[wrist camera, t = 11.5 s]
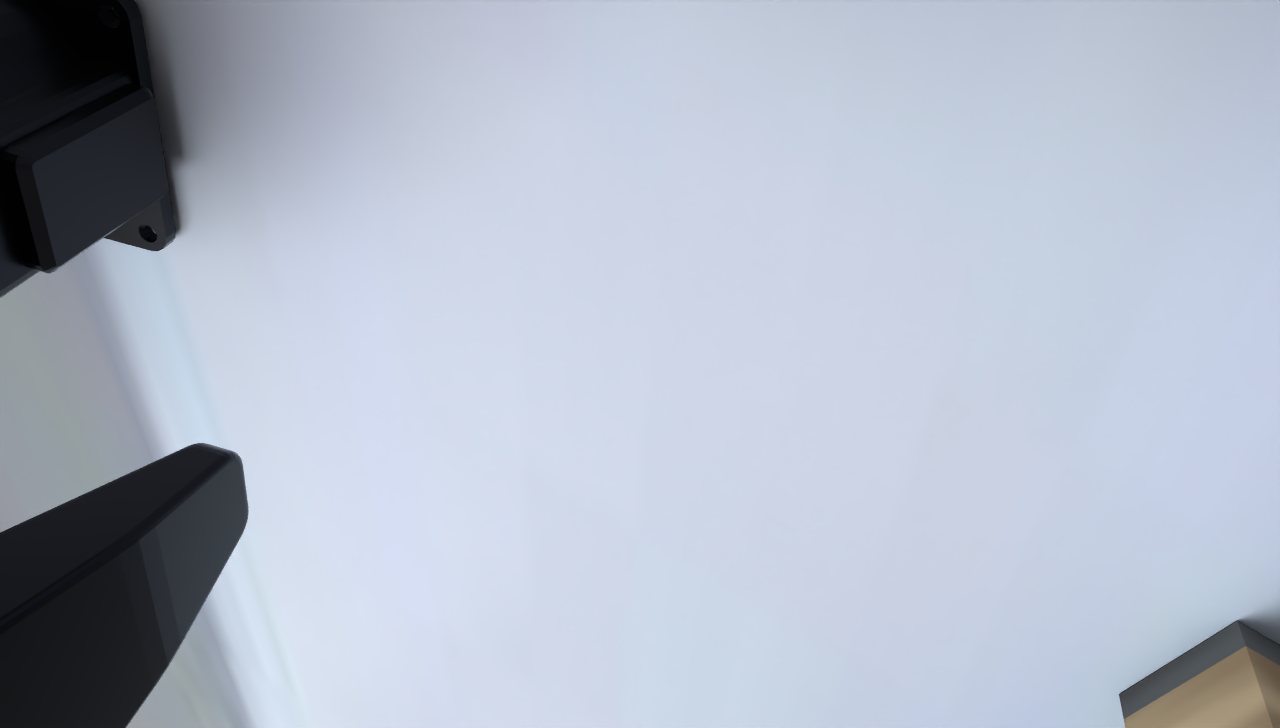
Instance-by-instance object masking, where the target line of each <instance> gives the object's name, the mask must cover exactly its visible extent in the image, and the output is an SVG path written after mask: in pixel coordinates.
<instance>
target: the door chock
mask: <svg viewBox="0 0 1280 728" xmlns="http://www.w3.org/2000/svg"><path fill="white" fill-rule="evenodd" d="M1119 697H1120V702H1121V707H1122V712H1123V717H1124V722H1125V727H1126V728H1280V645H1279V644H1277V643H1275V642H1274V641H1272V640H1270V639H1268V638H1267V637H1265V636H1263V635H1261V634H1260V633H1258V632H1256V631H1254V630H1253V629H1251V628H1249V627H1247V626H1246V625H1244V624H1242V623H1240V622H1239V621H1236V622H1234V623H1233V624H1231V625H1230V626H1228V627H1226V628H1225V629H1223V630H1222V631H1220V632H1218V633H1217V634H1215V635H1213V636H1212V637H1210V638H1209V639H1207V640H1205V641H1204V642H1202V643H1201V644H1199V645H1197V646H1196V647H1194V648H1193V649H1191V650H1189V651H1188V652H1186V653H1185V654H1183V655H1181V656H1180V657H1178V658H1177V659H1175V660H1173V661H1172V662H1170V663H1169V664H1167V665H1165V666H1164V667H1162V668H1161V669H1159V670H1157V671H1156V672H1154V673H1153V674H1151V675H1149V676H1148V677H1146V678H1145V679H1143V680H1141V681H1140V682H1138V683H1136V684H1135V685H1133V686H1132V687H1130V688H1128V689H1127V690H1125V691H1124V692H1122V693H1120V694H1119Z"/></svg>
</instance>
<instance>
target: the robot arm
mask: <svg viewBox="0 0 1280 728" xmlns="http://www.w3.org/2000/svg"><path fill="white" fill-rule="evenodd" d="M111 7H113V9H114V10H115V11H116V12H117V13H118V16H119V18H120V21H118V20H117V19H116V18H115V17H114V16H113V14H112V12H111V9H110V8H111ZM150 227H151V228H152V229H153V230H154V231H155V232H156V233H154V232H153V231H152V230H151V229H150ZM175 233H176V231H175V225H174V218H173V212H172V206H171V199H170V193H169V186H168V180H167V174H166V167H165V161H164V155H163V148H162V142H161V136H160V129H159V123H158V117H157V111H156V104H155V99H154V92H153V86H152V80H151V73H150V67H149V61H148V55H147V48H146V42H145V36H144V29H143V23H142V17H141V14H140V11H139V7H138V6H137V4H136V3H135V1H134V0H0V298H1V297H2V296H4V295H5V294H7V293H8V292H9V291H11V290H12V289H14V288H15V287H17V286H18V285H20V284H21V283H23V282H24V281H26V280H27V279H29V278H30V277H32V276H33V275H35V274H36V273H38V272H39V271H42V272H45V273H51V272H54V271H56V270H57V269H59V268H60V267H61V266H63V265H64V264H66V263H67V262H69V261H70V260H72V259H73V258H75V257H76V256H78V255H79V254H80V253H82V252H83V251H85V250H86V249H88V248H89V247H91V246H92V245H94V244H95V243H97V242H98V241H99V240H101V239H102V238H106V239H110V240H114V241H117V242H121V243H125V244H128V245H132V246H136V247H140V248H143V249H147V250H151V251H159V250H162V249H163V248H165V247H166V246H167V245H169V244H170V243H171V242H173V240H174V239H175ZM247 519H248V501H247V494H246V486H245V478H244V471H243V464H242V460H241V458H240V457H239V456H238V454H237V453H235V452H233V451H230V450H227V449H223V448H220V447H216V446H213V445H210V444H205V443H197V444H193V445H190V446H188V447H185V448H183V449H181V450H179V451H177V452H175V453H172V454H170V455H168V456H166V457H164V458H162V459H159V460H157V461H155V462H153V463H151V464H148V465H146V466H144V467H142V468H140V469H138V470H135V471H133V472H131V473H129V474H127V475H125V476H122V477H120V478H118V479H116V480H114V481H112V482H109V483H107V484H105V485H103V486H101V487H99V488H96V489H94V490H92V491H90V492H88V493H85V494H83V495H81V496H79V497H77V498H75V499H72V500H70V501H68V502H66V503H64V504H62V505H59V506H57V507H55V508H53V509H51V510H49V511H46V512H44V513H42V514H40V515H38V516H35V517H33V518H31V519H29V520H27V521H25V522H22V523H20V524H18V525H16V526H14V527H12V528H9V529H7V530H5V531H3V532H1V533H0V728H126V727H127V725H128V724H129V723H130V721H131V720H132V718H133V717H134V716H135V714H136V713H137V711H138V710H139V708H140V707H141V706H142V704H143V703H144V701H145V700H146V698H147V697H148V696H149V694H150V693H151V691H152V690H153V688H154V687H155V686H156V684H157V683H158V681H159V680H160V678H161V677H162V675H163V674H164V672H165V671H166V669H167V668H168V666H169V664H170V663H171V661H172V659H173V658H174V656H175V654H176V653H177V651H178V649H179V647H180V646H181V644H182V642H183V640H184V639H185V637H186V635H187V633H188V631H189V630H190V628H191V626H192V624H193V622H194V621H195V619H196V617H197V615H198V613H199V612H200V610H201V608H202V606H203V604H204V602H205V601H206V599H207V597H208V595H209V593H210V592H211V590H212V588H213V586H214V584H215V583H216V581H217V579H218V577H219V575H220V574H221V572H222V570H223V568H224V566H225V565H226V563H227V561H228V559H229V557H230V556H231V554H232V552H233V550H234V548H235V547H236V545H237V543H238V541H239V539H240V537H241V536H242V534H243V532H244V529H245V526H246V523H247Z"/></svg>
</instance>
